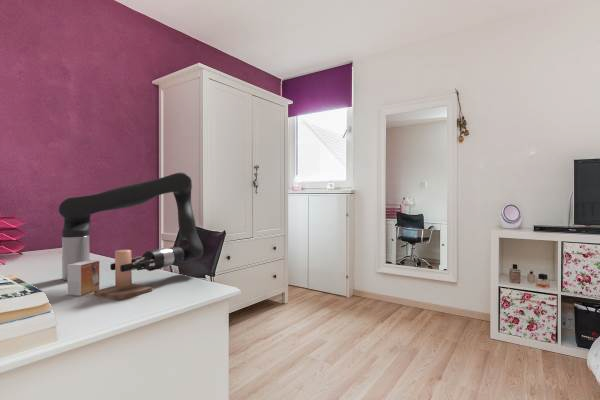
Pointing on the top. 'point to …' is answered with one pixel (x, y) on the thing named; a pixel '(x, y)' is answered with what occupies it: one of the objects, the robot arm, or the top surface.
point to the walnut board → (122, 291)
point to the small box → (83, 277)
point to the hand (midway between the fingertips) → (116, 267)
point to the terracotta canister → (120, 259)
